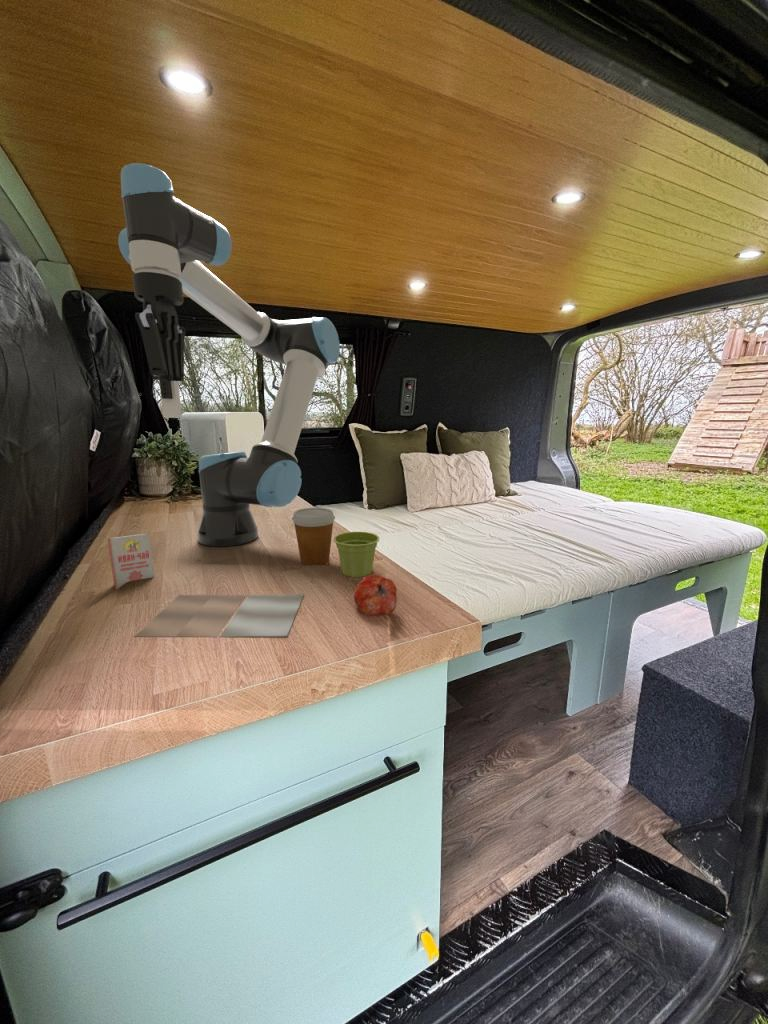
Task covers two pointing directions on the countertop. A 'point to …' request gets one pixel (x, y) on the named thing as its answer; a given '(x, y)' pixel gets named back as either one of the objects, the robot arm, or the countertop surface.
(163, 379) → the robot arm
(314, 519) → the disposable coffee cup
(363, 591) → the pomegranate
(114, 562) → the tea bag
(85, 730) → the countertop surface
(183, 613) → the floorboard
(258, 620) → the grey flat slab
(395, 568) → the countertop surface
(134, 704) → the countertop surface
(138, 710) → the countertop surface
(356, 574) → the plant pot
